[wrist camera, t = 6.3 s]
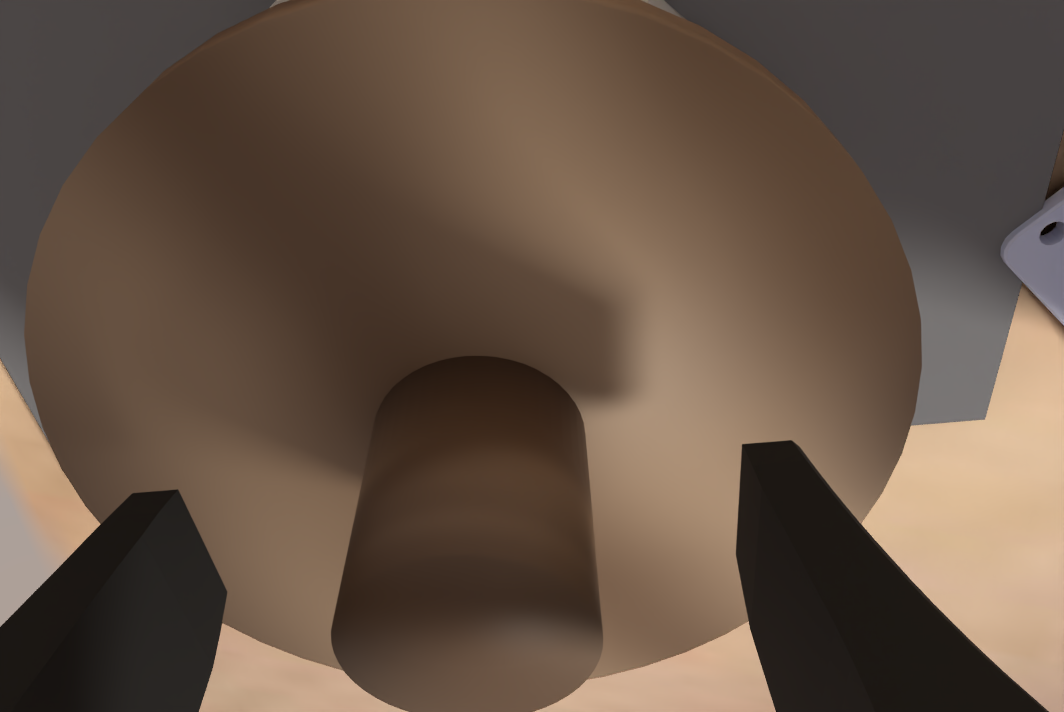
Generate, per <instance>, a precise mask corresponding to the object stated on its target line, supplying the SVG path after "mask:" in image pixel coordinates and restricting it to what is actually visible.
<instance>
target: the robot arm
mask: <svg viewBox="0 0 1064 712" xmlns="http://www.w3.org/2000/svg"><path fill="white" fill-rule="evenodd" d="M1053 222H1057V224H1056V227H1055V228H1054V229H1053V230H1052V231H1051V232H1049V233H1047V234H1045V235H1040V233H1041V231H1042V230H1043V229H1044V228H1045V227H1046V226H1047V225H1049V224H1051V223H1053ZM1000 255H1001V257H1002V259H1003V261H1004V263H1005V264H1006V265H1007V266H1008V267H1009V268H1010V269H1011V270H1012V271H1013V272H1014V273H1015V274H1016V275H1017V277H1018V278H1019V279H1020V280H1021V281H1022V282H1023V283H1024V284H1025V285H1026V286H1027V287H1028V288H1029V289H1030V290H1031V291H1032V292H1033V294H1034V295H1035V296H1036V297H1037V298H1038V299H1039V300H1040V301H1041V302H1042V303H1043V304H1044V305H1045V306H1046V307H1047V308H1048V309H1049V311H1050V312H1051V313H1052V314H1053V315H1054V316H1055V317H1056V318H1057V319H1058V320H1059V321H1060V322H1061V323H1062V324H1063V325H1064V187H1063V188H1061V189H1060V190H1059V191H1057V192H1056V193H1055V194H1053V195H1052V196H1051V197H1049V198H1048V199H1047V200H1045V201H1044V205H1043V208H1042V210H1040V211H1039V212H1038V213H1036V214H1035V215H1034V216H1032V217H1031V218H1030V219H1028V220H1027V221H1025V222H1024V223H1023V224H1021V225H1020V226H1019V227H1017V228H1016V229H1015V230H1013V231H1012V232H1011V233H1010V234H1009V235H1008V236H1007V237H1006V238H1005V240H1004V242H1003V244H1002V246H1001V252H1000ZM736 559H737V564H738V569H739V574H740V580H741V585H742V590H743V595H744V600H745V605H746V610H747V615H748V620H749V625H750V630H751V633H752V636H753V640H754V643H755V646H756V649H757V653H758V656H759V659H760V662H761V665H762V668H763V672H764V675H765V678H766V681H767V684H768V688H769V691H770V694H771V697H772V700H773V703H774V707H775V710H776V712H1049V711H1047V710H1046V709H1045V708H1044V707H1043V706H1042V705H1041V704H1039V703H1038V702H1037V701H1036V700H1035V699H1034V698H1033V697H1032V696H1030V695H1029V694H1028V693H1027V692H1026V691H1025V690H1024V689H1022V688H1021V687H1020V686H1019V685H1018V684H1017V683H1016V682H1014V681H1013V680H1012V679H1011V678H1010V677H1009V676H1008V675H1007V674H1006V673H1004V672H1003V671H1002V670H1001V669H1000V668H999V667H998V666H997V665H996V664H995V663H994V662H993V661H991V660H990V659H989V658H988V657H987V656H986V655H985V654H984V653H983V652H982V651H981V650H980V649H979V648H978V647H977V646H976V645H975V644H974V643H973V642H971V641H970V640H969V639H968V638H967V637H966V636H965V635H964V634H963V633H962V632H961V631H960V630H959V629H958V628H957V627H956V626H955V625H954V624H953V623H952V622H951V621H950V620H949V619H948V618H947V617H946V616H945V615H944V614H943V613H942V612H941V611H940V610H939V609H938V608H937V607H936V606H935V605H934V604H933V603H932V602H931V601H930V600H929V598H928V597H927V596H926V595H925V594H924V593H923V592H922V591H921V590H920V589H919V588H918V587H917V586H916V585H915V584H914V583H913V582H912V581H911V580H910V578H909V577H908V576H907V575H906V574H905V573H904V572H903V571H902V570H901V568H900V567H899V566H898V565H897V564H896V563H895V562H894V561H893V560H892V559H891V557H890V556H889V555H888V554H887V553H886V552H885V551H884V550H883V549H882V547H881V546H880V545H879V544H878V543H877V542H876V541H875V540H874V539H873V537H872V536H871V535H870V534H869V533H868V532H867V530H866V529H865V528H864V527H863V526H862V525H861V523H860V522H859V521H858V520H857V519H856V517H855V516H854V515H853V514H852V513H851V511H850V510H849V509H848V508H847V507H846V505H845V504H844V503H843V502H842V501H841V499H840V498H839V497H838V496H837V494H836V493H835V492H834V491H833V489H832V488H831V487H830V486H829V484H828V483H827V482H826V481H825V479H824V478H823V477H822V475H821V474H820V473H819V472H818V470H817V469H816V468H815V466H814V465H813V464H812V462H811V461H810V460H809V458H808V457H807V456H806V454H805V453H804V452H803V450H802V449H801V448H800V446H798V445H797V444H796V443H795V442H793V441H792V440H786V441H774V442H762V443H749V444H742V453H741V470H740V488H739V505H738V522H737V539H736ZM226 597H227V590H226V588H225V585H224V583H223V581H222V579H221V577H220V575H219V573H218V571H217V569H216V567H215V565H214V563H213V561H212V558H211V556H210V554H209V552H208V550H207V548H206V546H205V544H204V542H203V540H202V538H201V536H200V533H199V531H198V529H197V527H196V525H195V523H194V521H193V519H192V517H191V515H190V513H189V511H188V509H187V506H186V504H185V502H184V500H183V498H182V496H181V494H180V492H179V490H178V489H177V490H165V491H152V492H140V493H132V494H131V495H130V496H129V497H128V498H127V499H126V500H125V501H124V502H123V503H122V504H121V505H120V506H119V507H118V508H117V509H116V510H115V511H114V512H113V513H112V514H111V515H110V516H109V517H108V518H107V519H106V520H105V521H104V522H103V523H102V524H101V525H100V526H99V527H98V528H97V529H96V530H95V531H94V532H93V533H92V534H91V535H90V536H89V537H88V538H87V539H86V540H85V541H84V542H83V543H82V544H81V545H80V546H79V547H78V548H77V549H76V550H75V551H74V552H73V553H72V555H71V556H70V557H69V558H68V559H67V560H66V561H65V562H64V563H63V564H62V565H61V566H60V567H59V568H58V569H57V570H56V571H55V572H54V573H53V574H52V575H51V576H50V577H49V578H48V579H47V580H46V581H45V582H44V583H43V584H42V585H41V586H40V588H38V589H37V590H36V591H35V592H34V593H33V595H31V596H30V597H29V598H28V599H27V600H26V602H25V603H24V604H23V605H22V606H21V607H20V608H19V609H18V610H17V611H16V612H15V613H14V614H13V615H12V616H11V617H10V618H9V619H8V620H7V621H6V622H5V623H4V624H3V625H2V626H1V627H0V712H199V709H200V706H201V703H202V700H203V697H204V694H205V691H206V688H207V684H208V681H209V678H210V675H211V672H212V668H213V664H214V660H215V655H216V650H217V646H218V641H219V636H220V631H221V626H222V620H223V614H224V609H225V603H226Z"/></svg>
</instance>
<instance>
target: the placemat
mask: <svg viewBox="0 0 1064 712" xmlns="http://www.w3.org/2000/svg"><path fill="white" fill-rule="evenodd" d="M275 1H276V0H0V359H1V360H2V362H3V364H4V365H5V367H6V369H7V371H8V372H9V374H10V376H11V378H12V379H13V381H14V383H15V384H16V386H17V388H18V390H19V391H20V393H21V395H22V396H23V398H24V400H25V402H26V403H27V405H28V407H29V408H30V410H31V412H32V414H33V415H34V417H35V419H36V421H37V422H38V424H39V426H40V427H41V429H42V431H43V433H44V434H45V432H44V429H43V427H42V424H41V421H40V417H39V414H38V410H37V407H36V403H35V400H34V396H33V393H32V389H31V386H30V382H29V374H28V365H27V356H26V347H25V339H24V327H25V311H26V295H27V284H28V280H29V276H30V272H31V268H32V264H33V260H34V256H35V252H36V248H37V244H38V240H39V236H40V233H41V231H42V229H43V227H44V225H45V223H46V220H47V218H48V216H49V214H50V212H51V210H52V207H53V205H54V203H55V201H56V199H57V197H58V194H59V192H60V190H61V188H62V186H63V184H64V183H65V181H66V180H67V178H68V177H69V176H70V174H71V173H72V171H73V170H74V169H75V167H76V166H77V164H78V163H79V162H80V160H81V159H82V157H83V156H84V154H85V153H86V152H87V150H88V149H89V147H90V146H91V145H92V143H93V142H94V140H95V139H96V138H97V136H98V135H100V134H101V133H102V132H103V131H104V130H105V129H106V128H107V127H108V126H109V125H110V124H111V123H112V122H113V121H114V120H115V119H116V118H117V117H118V116H119V115H120V114H121V113H122V112H123V111H124V110H125V109H126V108H127V107H128V106H129V105H130V104H131V103H132V102H133V101H134V100H135V99H136V98H137V97H138V96H139V95H140V94H141V93H142V92H143V91H144V90H145V89H146V88H147V87H148V86H149V85H150V84H151V83H152V82H153V81H154V80H155V79H156V78H157V77H158V76H159V75H160V74H161V73H162V72H164V71H165V70H166V69H167V68H169V67H170V66H172V65H173V64H174V63H176V62H177V61H179V60H180V59H182V58H183V57H184V56H186V55H187V54H189V53H190V52H192V51H193V50H194V49H196V48H197V47H199V46H200V45H201V44H203V43H204V42H206V41H207V40H209V39H210V38H211V37H213V36H214V35H216V34H217V33H219V32H221V31H223V30H225V29H227V28H230V27H232V26H234V25H236V24H238V23H240V22H242V21H244V20H246V19H248V18H250V17H252V16H254V15H256V14H258V13H260V12H262V11H264V10H266V9H268V8H270V6H271V5H272V4H273V3H274V2H275ZM664 1H665V2H667V3H668V4H669V5H670V6H671V7H672V8H674V9H675V10H676V11H677V12H678V13H679V14H680V15H682V16H683V17H684V18H685V19H686V20H688V21H690V22H693V23H695V24H697V25H700V26H701V27H703V28H705V29H706V30H708V31H709V32H711V33H713V34H714V35H716V36H718V37H719V38H721V39H722V40H724V41H726V42H727V43H729V44H731V45H732V46H734V47H735V48H737V49H739V50H740V51H742V52H744V53H745V54H747V55H749V56H750V57H752V58H753V59H755V60H757V61H758V62H759V63H760V64H761V65H763V66H764V67H765V68H766V69H767V70H768V71H770V72H771V73H772V74H773V75H774V76H776V77H777V78H778V79H779V80H780V81H781V82H783V83H784V84H785V85H786V86H787V87H788V88H790V89H791V90H792V91H793V92H794V93H796V94H797V95H798V96H799V97H800V98H801V99H803V100H804V101H805V102H806V103H807V105H808V106H809V107H810V108H811V109H812V110H813V112H814V113H815V114H816V115H817V116H818V117H819V118H820V120H821V121H822V122H823V123H824V124H825V125H826V127H827V128H828V129H829V130H830V131H831V132H832V134H833V135H834V136H835V137H836V138H837V139H838V141H839V142H840V143H841V144H842V145H843V147H844V148H845V149H846V150H847V152H848V153H849V154H850V156H851V157H852V158H853V160H854V161H855V162H856V164H857V165H858V166H859V168H860V169H861V170H862V172H863V173H864V175H865V177H866V178H867V180H868V182H869V183H870V185H871V187H872V188H873V190H874V192H875V193H876V195H877V197H878V198H879V200H880V202H881V203H882V205H883V206H884V208H885V210H886V211H887V213H888V215H889V216H890V218H891V220H892V222H893V224H894V227H895V230H896V232H897V235H898V237H899V240H900V242H901V245H902V248H903V250H904V253H905V255H906V258H907V260H908V263H909V266H910V268H911V271H912V276H913V281H914V286H915V291H916V296H917V302H918V307H919V312H920V317H921V345H922V370H921V376H920V383H919V390H918V396H917V403H916V409H915V414H914V417H913V420H912V423H911V425H923V424H935V423H947V422H960V421H972V420H984V419H985V417H986V414H987V410H988V406H989V403H990V399H991V395H992V392H993V388H994V384H995V381H996V377H997V373H998V370H999V366H1000V362H1001V359H1002V355H1003V351H1004V348H1005V344H1006V340H1007V337H1008V333H1009V329H1010V326H1011V322H1012V318H1013V315H1014V311H1015V307H1016V304H1017V300H1018V296H1019V293H1020V289H1021V285H1022V281H1021V280H1020V279H1019V278H1018V277H1017V275H1016V274H1015V273H1014V272H1013V271H1012V270H1011V269H1010V268H1009V267H1008V266H1007V265H1006V264H1005V263H1004V261H1003V259H1002V257H1001V255H1000V252H1001V246H1002V244H1003V242H1004V240H1005V238H1006V237H1007V236H1008V235H1009V234H1010V233H1011V232H1012V231H1013V230H1015V229H1016V228H1017V227H1019V226H1020V225H1021V224H1023V223H1024V222H1025V221H1027V220H1028V219H1030V218H1031V217H1032V216H1034V215H1035V214H1036V213H1038V212H1039V211H1040V210H1042V208H1043V205H1044V201H1045V197H1046V194H1047V190H1048V186H1049V183H1050V179H1051V175H1052V172H1053V168H1054V164H1055V161H1056V157H1057V153H1058V150H1059V146H1060V142H1061V139H1062V135H1063V131H1064V0H664ZM45 436H46V434H45ZM46 438H47V436H46ZM47 439H48V438H47ZM48 441H49V440H48ZM49 443H50V442H49Z"/></svg>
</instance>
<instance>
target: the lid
mask: <svg viewBox="0 0 1064 712" xmlns="http://www.w3.org/2000/svg"><path fill="white" fill-rule="evenodd" d="M24 339H25V347H26V356H27V365H28V374H29V382H30V386H31V389H32V393H33V396H34V400H35V403H36V407H37V410H38V414H39V417H40V421H41V424H42V427H43V429H44V432H45V434H46V436H47V438H48V440H49V442H50V445H51V447H52V449H53V451H54V453H55V455H56V458H57V460H58V462H59V464H60V466H61V468H62V470H63V471H64V473H65V475H66V476H67V478H68V479H69V481H70V482H71V484H72V485H73V487H74V489H75V490H76V492H77V493H78V495H79V496H80V498H81V499H82V501H83V503H84V504H85V506H86V507H87V508H88V509H89V511H90V512H91V513H92V514H93V515H94V517H95V518H96V519H97V520H98V521H99V523H100V524H102V523H103V522H104V521H105V520H106V519H107V518H108V517H109V516H110V515H111V514H112V513H113V512H114V511H115V510H116V509H117V508H118V507H119V506H120V505H121V504H122V503H123V502H124V501H125V500H126V499H127V498H128V497H129V496H130V495H131V494H132V493H140V492H152V491H165V490H177V489H178V490H179V492H180V494H181V496H182V498H183V500H184V502H185V504H186V506H187V509H188V511H189V513H190V515H191V517H192V519H193V521H194V523H195V525H196V527H197V529H198V531H199V533H200V536H201V538H202V540H203V542H204V544H205V546H206V548H207V550H208V552H209V554H210V556H211V558H212V561H213V563H214V565H215V567H216V569H217V571H218V573H219V575H220V577H221V579H222V581H223V583H224V585H225V588H226V590H227V597H226V603H225V609H224V614H223V620H222V623H224V624H226V625H228V626H230V627H232V628H234V629H236V630H238V631H240V632H242V633H244V634H246V635H248V636H250V637H252V638H254V639H256V640H258V641H260V642H262V643H265V644H267V645H270V646H272V647H275V648H278V649H280V650H283V651H285V652H288V653H290V654H293V655H295V656H298V657H300V658H303V659H306V660H310V661H313V662H316V663H320V664H323V665H326V666H330V667H333V668H336V669H340V670H343V671H344V672H345V673H346V674H347V675H348V676H349V677H350V678H351V679H352V680H353V681H354V682H355V683H356V684H357V685H358V686H360V687H361V688H362V689H363V690H365V691H366V692H368V693H369V694H371V695H372V696H374V697H376V698H377V699H379V700H381V701H383V702H385V703H387V704H389V705H392V706H394V707H397V708H400V709H402V710H405V711H408V712H533V711H536V710H539V709H542V708H545V707H547V706H549V705H551V704H554V703H556V702H558V701H559V700H561V699H563V698H565V697H566V696H568V695H569V694H571V693H572V692H573V691H575V690H576V689H577V688H579V687H580V686H581V685H582V684H583V683H584V682H585V681H586V680H587V679H593V678H599V677H605V676H608V675H612V674H616V673H620V672H624V671H628V670H632V669H636V668H640V667H644V666H647V665H650V664H653V663H656V662H658V661H661V660H664V659H667V658H670V657H673V656H676V655H679V654H682V653H684V652H687V651H689V650H691V649H694V648H696V647H698V646H700V645H703V644H705V643H707V642H709V641H712V640H714V639H716V638H718V637H720V636H723V635H725V634H727V633H728V632H730V631H732V630H734V629H736V628H737V627H739V626H741V625H743V624H744V623H746V622H748V621H749V620H748V615H747V610H746V605H745V600H744V595H743V590H742V585H741V580H740V574H739V569H738V564H737V559H736V539H737V522H738V505H739V488H740V470H741V453H742V444H749V443H762V442H774V441H786V440H792V441H793V442H795V443H796V444H797V445H798V446H800V448H801V449H802V450H803V452H804V453H805V454H806V456H807V457H808V458H809V460H810V461H811V462H812V464H813V465H814V466H815V468H816V469H817V470H818V472H819V473H820V474H821V475H822V477H823V478H824V479H825V481H826V482H827V483H828V484H829V486H830V487H831V488H832V489H833V491H834V492H835V493H836V494H837V496H838V497H839V498H840V499H841V501H842V502H843V503H844V504H845V505H846V507H847V508H848V509H849V510H850V511H851V513H852V514H853V515H854V516H855V517H856V519H857V520H858V521H859V522H860V523H862V522H863V520H864V519H865V517H866V516H867V514H868V513H869V511H870V510H871V508H872V507H873V506H874V504H875V503H876V501H877V500H878V498H879V497H880V495H881V494H882V492H883V490H884V488H885V486H886V484H887V482H888V480H889V478H890V476H891V474H892V472H893V470H894V468H895V466H896V464H897V462H898V460H899V458H900V456H901V454H902V451H903V448H904V445H905V442H906V439H907V436H908V432H909V429H910V426H911V423H912V420H913V417H914V414H915V409H916V403H917V396H918V390H919V383H920V376H921V370H922V345H921V317H920V312H919V307H918V302H917V296H916V291H915V286H914V281H913V276H912V271H911V268H910V266H909V263H908V260H907V258H906V255H905V253H904V250H903V248H902V245H901V242H900V240H899V237H898V235H897V232H896V230H895V227H894V224H893V222H892V220H891V218H890V216H889V215H888V213H887V211H886V210H885V208H884V206H883V205H882V203H881V202H880V200H879V198H878V197H877V195H876V193H875V192H874V190H873V188H872V187H871V185H870V183H869V182H868V180H867V178H866V177H865V175H864V173H863V172H862V170H861V169H860V168H859V166H858V165H857V164H856V162H855V161H854V160H853V158H852V157H851V156H850V154H849V153H848V152H847V150H846V149H845V148H844V147H843V145H842V144H841V143H840V142H839V141H838V139H837V138H836V137H835V136H834V135H833V134H832V132H831V131H830V130H829V129H828V128H827V127H826V125H825V124H824V123H823V122H822V121H821V120H820V118H819V117H818V116H817V115H816V114H815V113H814V112H813V110H812V109H811V108H810V107H809V106H808V105H807V103H806V102H805V101H804V100H803V99H801V98H800V97H799V96H798V95H797V94H796V93H794V92H793V91H792V90H791V89H790V88H788V87H787V86H786V85H785V84H784V83H783V82H781V81H780V80H779V79H778V78H777V77H776V76H774V75H773V74H772V73H771V72H770V71H768V70H767V69H766V68H765V67H764V66H763V65H761V64H760V63H759V62H758V61H757V60H755V59H753V58H752V57H750V56H749V55H747V54H745V53H744V52H742V51H740V50H739V49H737V48H735V47H734V46H732V45H731V44H729V43H727V42H726V41H724V40H722V39H721V38H719V37H718V36H716V35H714V34H713V33H711V32H709V31H708V30H706V29H705V28H703V27H701V26H700V25H697V24H695V23H693V22H690V21H688V20H686V19H683V18H681V17H679V16H676V15H674V14H672V13H669V12H667V11H665V10H662V9H660V8H658V7H655V6H653V5H651V4H648V3H646V2H644V1H641V0H289V1H286V2H282V3H279V4H277V5H275V6H273V7H270V8H268V9H266V10H264V11H262V12H260V13H258V14H256V15H254V16H252V17H250V18H248V19H246V20H244V21H242V22H240V23H238V24H236V25H234V26H232V27H230V28H227V29H225V30H223V31H221V32H219V33H217V34H216V35H214V36H213V37H211V38H210V39H209V40H207V41H206V42H204V43H203V44H201V45H200V46H199V47H197V48H196V49H194V50H193V51H192V52H190V53H189V54H187V55H186V56H184V57H183V58H182V59H180V60H179V61H177V62H176V63H174V64H173V65H172V66H170V67H169V68H167V69H166V70H165V71H164V72H162V73H161V74H160V75H159V76H158V77H157V78H156V79H155V80H154V81H153V82H152V83H151V84H150V85H149V86H148V87H147V88H146V89H145V90H144V91H143V92H142V93H141V94H140V95H139V96H138V97H137V98H136V99H135V100H134V101H133V102H132V103H131V104H130V105H129V106H128V107H127V108H126V109H125V110H124V111H123V112H122V113H121V114H120V115H119V116H118V117H117V118H116V119H115V120H114V121H113V122H112V123H111V124H110V125H109V126H108V127H107V128H106V129H105V130H104V131H103V132H102V133H101V134H100V135H98V136H97V138H96V139H95V140H94V142H93V143H92V145H91V146H90V147H89V149H88V150H87V152H86V153H85V154H84V156H83V157H82V159H81V160H80V162H79V163H78V164H77V166H76V167H75V169H74V170H73V171H72V173H71V174H70V176H69V177H68V178H67V180H66V181H65V183H64V184H63V186H62V188H61V190H60V192H59V194H58V197H57V199H56V201H55V203H54V205H53V207H52V210H51V212H50V214H49V216H48V218H47V220H46V223H45V225H44V227H43V229H42V231H41V233H40V236H39V240H38V244H37V248H36V252H35V256H34V260H33V264H32V268H31V272H30V276H29V280H28V284H27V295H26V311H25V327H24Z"/></svg>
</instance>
